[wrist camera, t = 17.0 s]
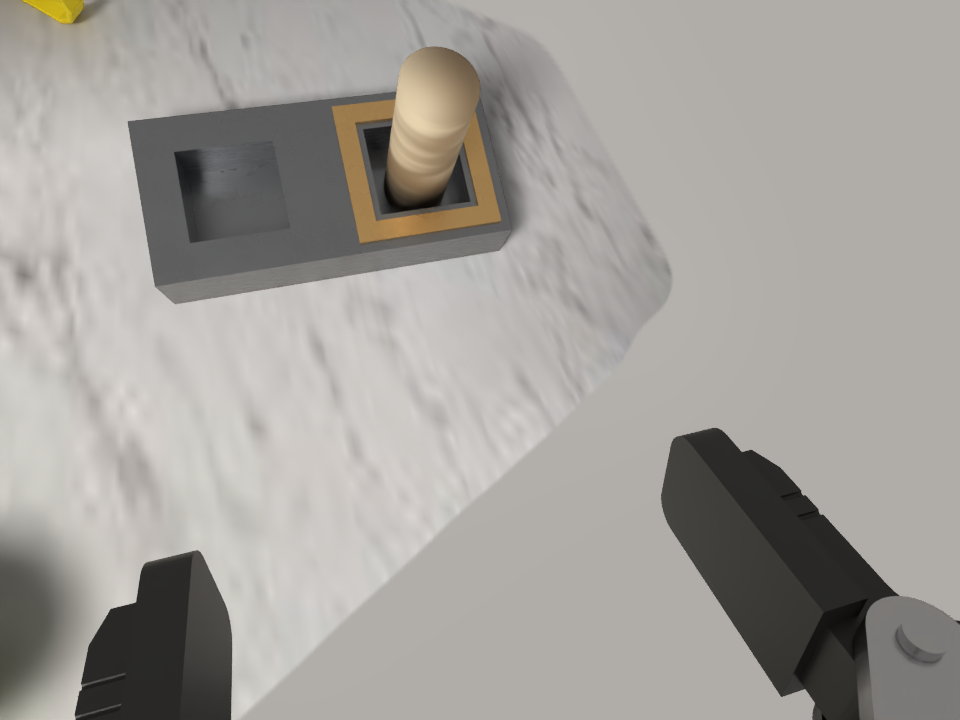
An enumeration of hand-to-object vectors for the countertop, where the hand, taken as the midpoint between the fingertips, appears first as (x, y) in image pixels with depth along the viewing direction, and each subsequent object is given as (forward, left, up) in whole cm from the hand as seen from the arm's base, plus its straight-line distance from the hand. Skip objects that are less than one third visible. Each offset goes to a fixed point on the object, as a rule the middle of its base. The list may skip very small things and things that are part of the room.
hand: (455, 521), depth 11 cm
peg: (+5, +19, -30) cm, 35 cm away
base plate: (0, +19, -31) cm, 36 cm away
